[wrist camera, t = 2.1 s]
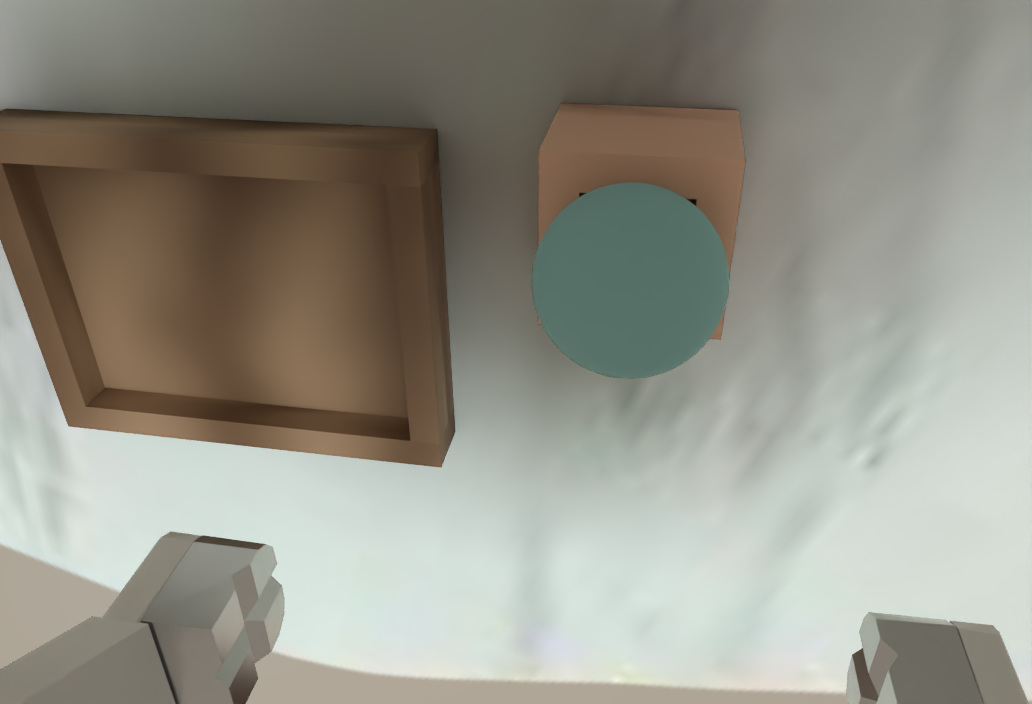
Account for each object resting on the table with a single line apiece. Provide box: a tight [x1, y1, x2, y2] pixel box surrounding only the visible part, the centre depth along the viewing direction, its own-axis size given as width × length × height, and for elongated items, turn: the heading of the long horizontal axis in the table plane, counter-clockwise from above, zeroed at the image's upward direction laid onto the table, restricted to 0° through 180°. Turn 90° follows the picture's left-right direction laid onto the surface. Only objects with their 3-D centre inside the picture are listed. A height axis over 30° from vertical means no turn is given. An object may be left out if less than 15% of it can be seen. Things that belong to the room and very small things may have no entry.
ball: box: [532, 182, 729, 379], centre depth 20 cm, size 4×4×4 cm
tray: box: [0, 109, 455, 467], centre depth 28 cm, size 14×11×2 cm
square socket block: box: [538, 103, 746, 340], centre depth 23 cm, size 5×5×4 cm
